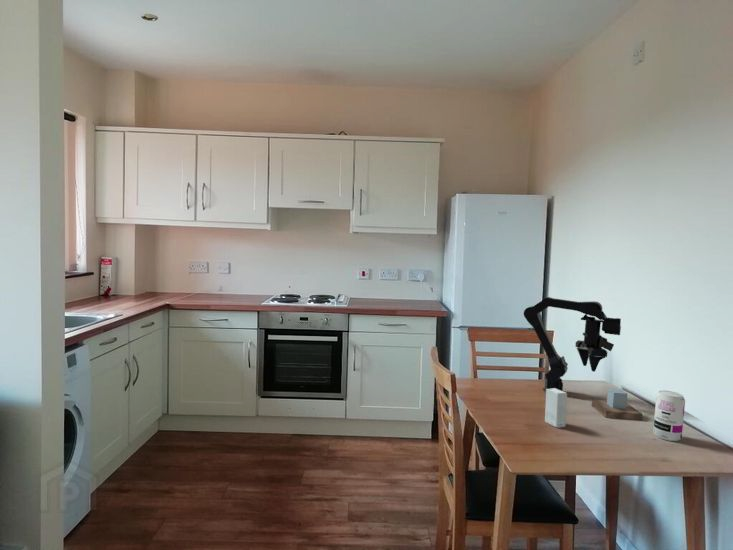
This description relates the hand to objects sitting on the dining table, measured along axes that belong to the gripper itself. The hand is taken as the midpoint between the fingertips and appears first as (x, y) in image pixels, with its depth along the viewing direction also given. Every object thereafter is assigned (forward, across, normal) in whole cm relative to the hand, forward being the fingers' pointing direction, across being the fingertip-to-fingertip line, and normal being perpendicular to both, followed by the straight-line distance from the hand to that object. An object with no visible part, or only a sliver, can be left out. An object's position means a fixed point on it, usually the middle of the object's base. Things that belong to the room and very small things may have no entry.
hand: (588, 368), depth 197 cm
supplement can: (+13, -38, -12) cm, 42 cm away
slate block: (+10, -16, -5) cm, 20 cm away
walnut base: (+13, -16, -5) cm, 21 cm away
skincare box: (+13, -34, +24) cm, 44 cm away
